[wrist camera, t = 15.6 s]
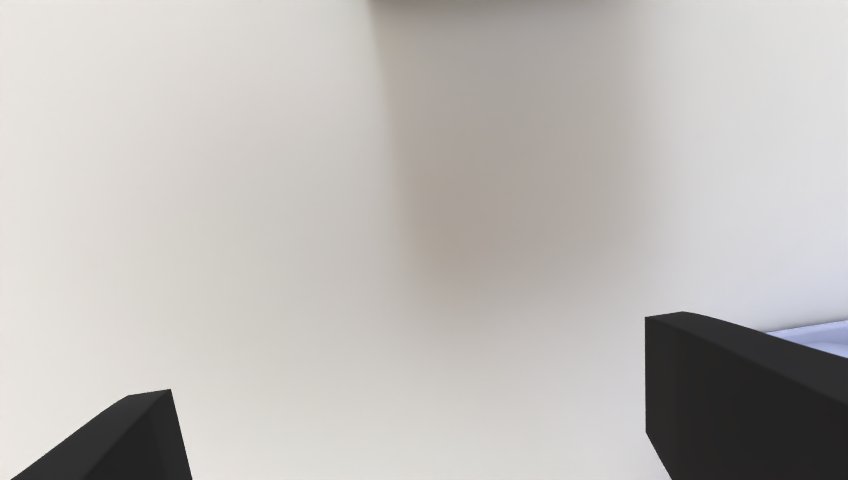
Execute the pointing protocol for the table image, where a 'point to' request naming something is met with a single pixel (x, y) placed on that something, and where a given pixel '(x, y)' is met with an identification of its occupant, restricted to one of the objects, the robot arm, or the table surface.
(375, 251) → the table surface
